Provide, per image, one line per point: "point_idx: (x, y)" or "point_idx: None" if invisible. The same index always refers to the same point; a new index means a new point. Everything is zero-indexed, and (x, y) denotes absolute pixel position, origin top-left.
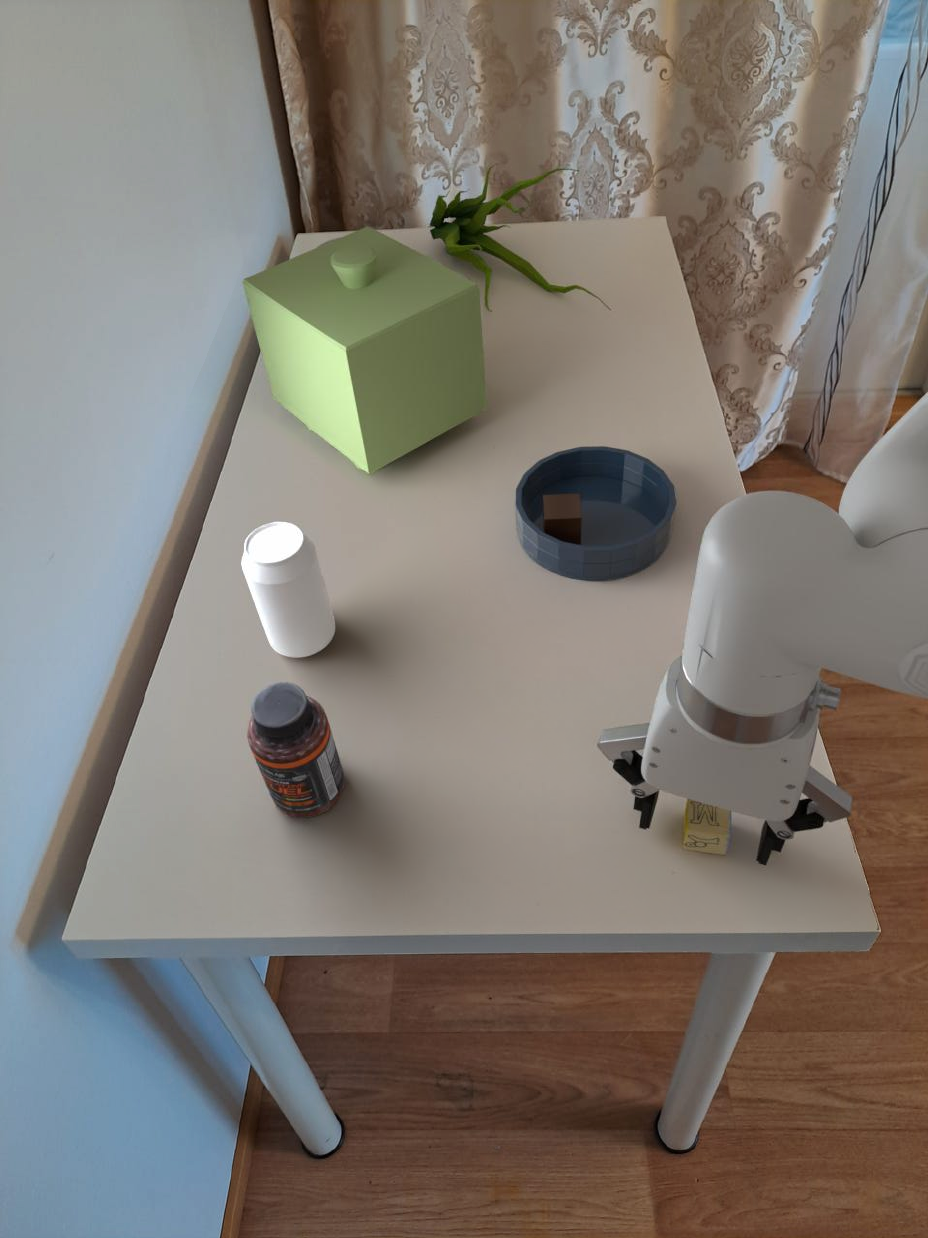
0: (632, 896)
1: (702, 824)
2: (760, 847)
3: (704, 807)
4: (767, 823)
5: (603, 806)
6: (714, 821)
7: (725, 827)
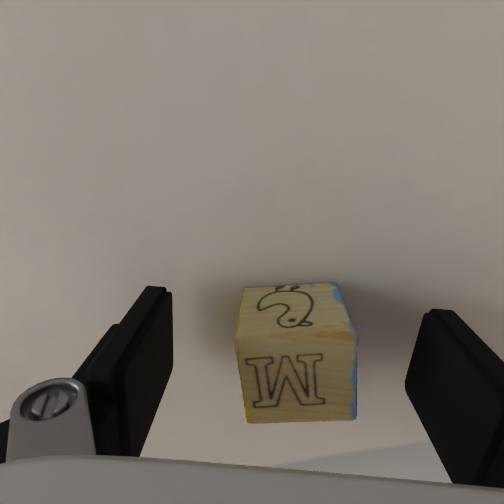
0: (184, 444)
1: (283, 407)
2: (427, 421)
3: (283, 369)
4: (476, 468)
5: (74, 303)
6: (313, 394)
7: (342, 405)
